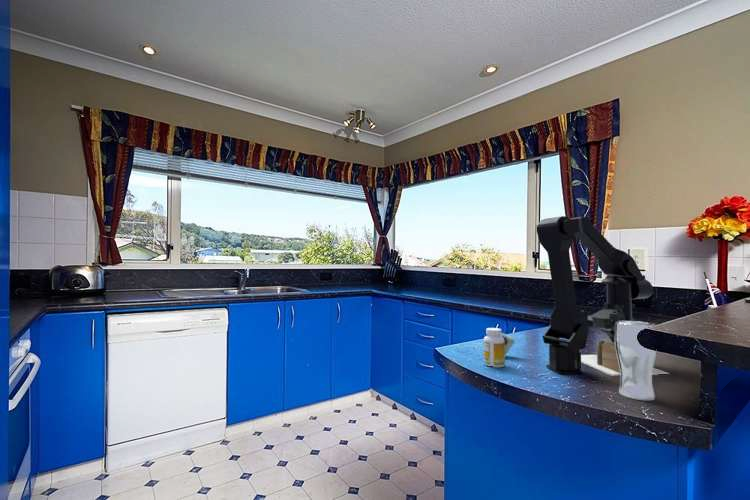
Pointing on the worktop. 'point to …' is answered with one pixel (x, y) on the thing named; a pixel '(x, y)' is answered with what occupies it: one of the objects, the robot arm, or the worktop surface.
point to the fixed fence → (607, 356)
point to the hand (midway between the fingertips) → (620, 356)
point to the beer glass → (634, 361)
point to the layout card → (592, 361)
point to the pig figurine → (507, 342)
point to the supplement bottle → (494, 348)
